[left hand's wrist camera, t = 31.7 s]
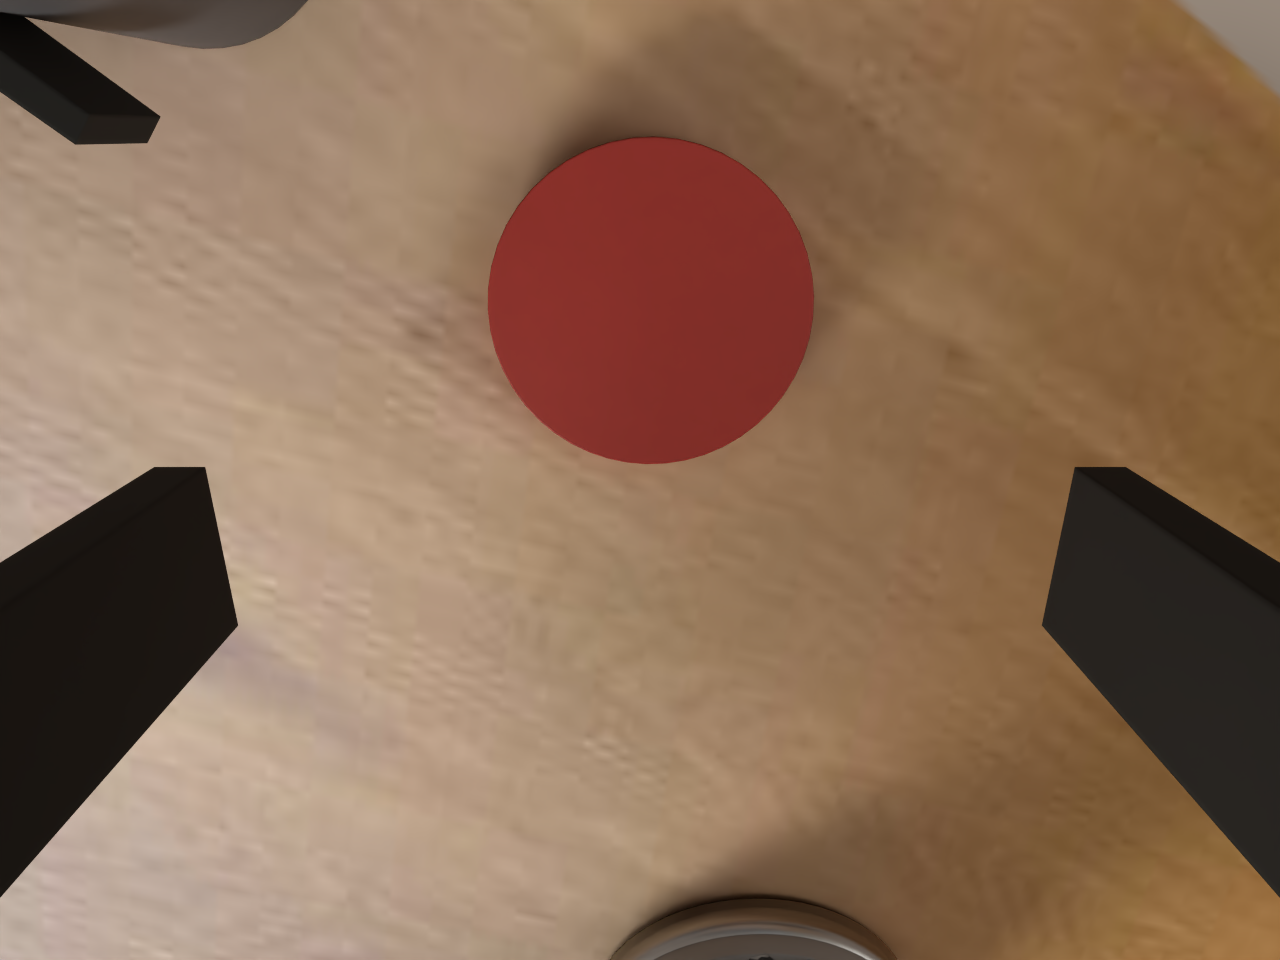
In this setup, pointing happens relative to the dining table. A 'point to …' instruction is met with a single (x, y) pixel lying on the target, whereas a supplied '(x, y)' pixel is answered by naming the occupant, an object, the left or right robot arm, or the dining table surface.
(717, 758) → the dining table surface
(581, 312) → the lid
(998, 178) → the dining table surface
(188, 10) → the jar
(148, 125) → the right robot arm
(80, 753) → the left robot arm
